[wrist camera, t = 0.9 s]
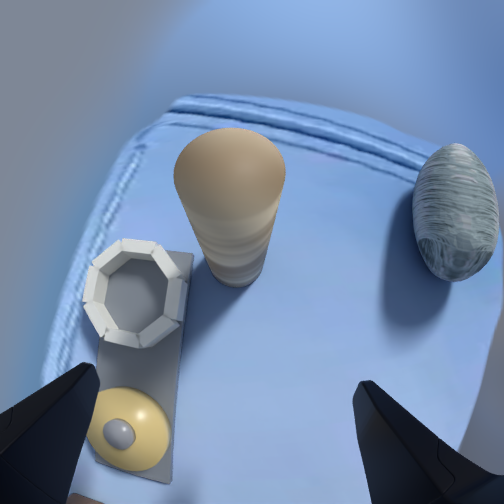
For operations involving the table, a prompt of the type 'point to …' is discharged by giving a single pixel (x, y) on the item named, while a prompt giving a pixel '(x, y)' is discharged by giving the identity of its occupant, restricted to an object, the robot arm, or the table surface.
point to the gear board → (137, 353)
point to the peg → (231, 199)
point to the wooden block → (80, 500)
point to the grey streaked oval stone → (455, 213)
